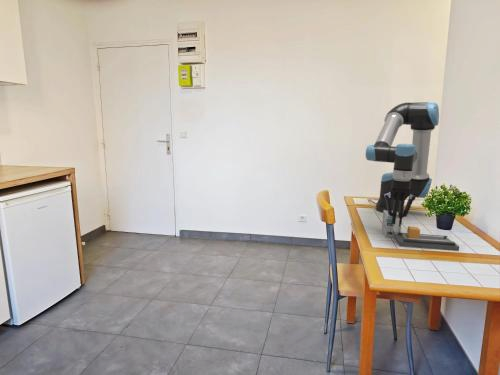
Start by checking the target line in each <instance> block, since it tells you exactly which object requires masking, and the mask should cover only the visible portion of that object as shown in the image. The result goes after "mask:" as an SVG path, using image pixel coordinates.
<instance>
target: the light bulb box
mask: <svg viewBox="0 0 500 375" xmlns="http://www.w3.org/2000/svg"><path fill="white" fill-rule="evenodd" d="M392 212H393V211H392ZM396 216H398V212H397V215H396ZM381 222H382V223H381V232H382V233H383V235H384V237H385V238H390V239H391V238H393V239H394V234H398V233H402V232H401V230H402V225H403V224H402V223H401V225H400V224H399V228H398V232H394V230H393V226H394V224H392V216H390V215H389V214H388V210H383V212H382V219H381Z"/></svg>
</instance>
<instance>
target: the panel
mask: <svg viewBox="0 0 500 375" xmlns="http://www.w3.org/2000/svg"><path fill="white" fill-rule="evenodd" d="M393 239H394V241H395V242H396V244H397V245H398V247H405V248H417V249H431V250H442V251H443V250H444V251H455V252H456V251H457V252H458V251H460V245H458V244H457V243H456V242H455V241H454V240H453V239H451V238H450V237H449V236H448V235H441V234H423V233H420V236H419V239H416V238H407V232H401V233H398V234H394V238H393Z"/></svg>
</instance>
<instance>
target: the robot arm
mask: <svg viewBox="0 0 500 375" xmlns="http://www.w3.org/2000/svg"><path fill="white" fill-rule="evenodd" d="M439 120H440V109H439V105H438V103H436V102H429V101H426V102H425V101H423V102H419V101H418V102H403V103H400V104H397V105H395V106H394V107H392V108H391V109H390V110H389V111H388V112H387V113H386V115H385V117H384V124H383V126H382V127H381V130H380V132H379V134H378V136H377V138H376V140H375V142H374V144H369V145H367V147H366V149H365V159H366V160H367V161H371V162H376V163H377V162H380V163H392V164H393V170H392V172H386V173H384V174H382V176H381V180H380V189H379V190H380V191H379V198H378V200H377V201H376V204H375V210H376V211H377V212H380V213H383V210H388V214H389V215H390V216H392V224H394V226H393V230H394V232H398V228H399V224H400V225H401V226H402V224H401V223H402V222H403V219H404V218H405V217H408V214H409V212H410V209H411V206H412V204H413V202H414V201H415V199H416V198H417V199H425V197H426V194H429V192H430V188H431V185H432V181H433V179H432V178H430V174H429V173H428V163H429V155H430V154H429V153H430V146H431V136H432V132H433V131H434V130H435V127H437V126H438V125H439ZM403 125H407V126H410V130H411V131H412V140H411V141H412V142H411V144H410V143H398V144H397V145H396V146H392V145H393V142H394V140H395V138H396V136H397V133H398V131H399V129H400V128H401V127H402V126H403ZM426 198H427V197H426ZM407 199H408V200H407ZM406 200H407V202H406V204H405V201H406ZM392 211H393V212H392ZM397 212H398V216H396V215H397Z"/></svg>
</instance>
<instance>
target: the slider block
mask: <svg viewBox="0 0 500 375" xmlns="http://www.w3.org/2000/svg"><path fill="white" fill-rule="evenodd" d="M406 233H407V238H416V239H419V236H420V234H421V229H420V228H419V227H418V226H407V231H406Z"/></svg>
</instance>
